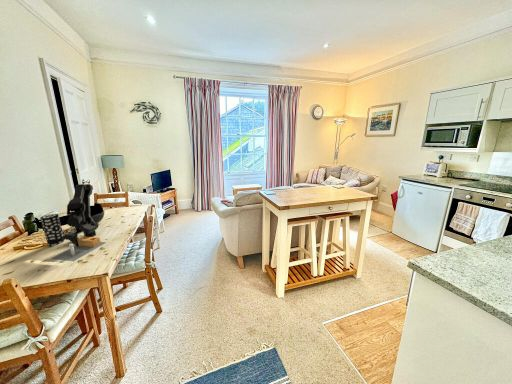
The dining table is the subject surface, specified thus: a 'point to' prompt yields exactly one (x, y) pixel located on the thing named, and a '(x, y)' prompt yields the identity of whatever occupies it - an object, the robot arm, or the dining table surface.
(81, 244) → the orange rectangular block
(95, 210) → the coal bowl
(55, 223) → the spotted tube
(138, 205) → the dining table surface
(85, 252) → the keeper board
